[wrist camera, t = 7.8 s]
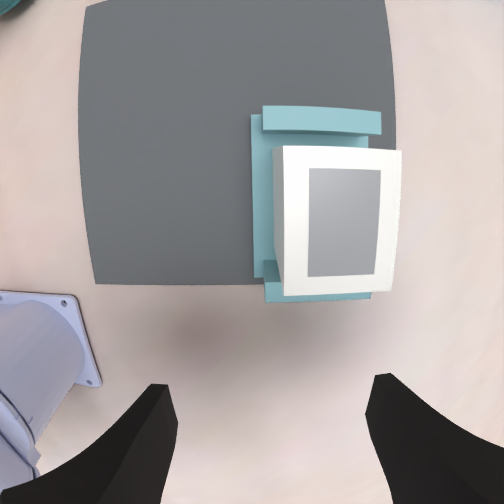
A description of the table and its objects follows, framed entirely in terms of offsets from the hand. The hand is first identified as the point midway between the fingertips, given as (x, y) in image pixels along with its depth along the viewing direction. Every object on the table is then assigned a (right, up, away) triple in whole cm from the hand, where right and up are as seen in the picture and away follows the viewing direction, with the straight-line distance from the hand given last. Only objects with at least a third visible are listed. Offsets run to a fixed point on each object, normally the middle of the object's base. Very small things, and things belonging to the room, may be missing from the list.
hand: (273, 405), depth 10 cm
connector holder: (+2, +8, +7) cm, 11 cm away
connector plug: (+2, +8, +6) cm, 10 cm away
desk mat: (-2, +12, +6) cm, 14 cm away
